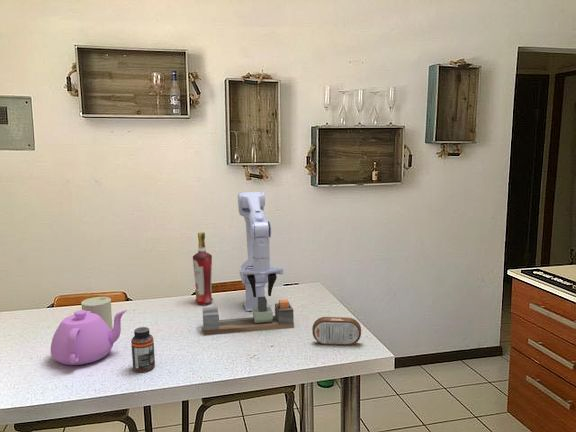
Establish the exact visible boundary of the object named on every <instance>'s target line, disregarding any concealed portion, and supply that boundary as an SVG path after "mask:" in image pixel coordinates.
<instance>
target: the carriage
mask: <svg viewBox="0 0 576 432" xmlns="http://www.w3.org/2000/svg"><path fill="white" fill-rule="evenodd" d="M267 304H268V301H267V298H266V296H265V297H258V307H255V308H253V311H252V317H253V318H254V323H260V322H272V319H273V316H274V315H273V311H272V308H271V306H269V305H267Z"/></svg>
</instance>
